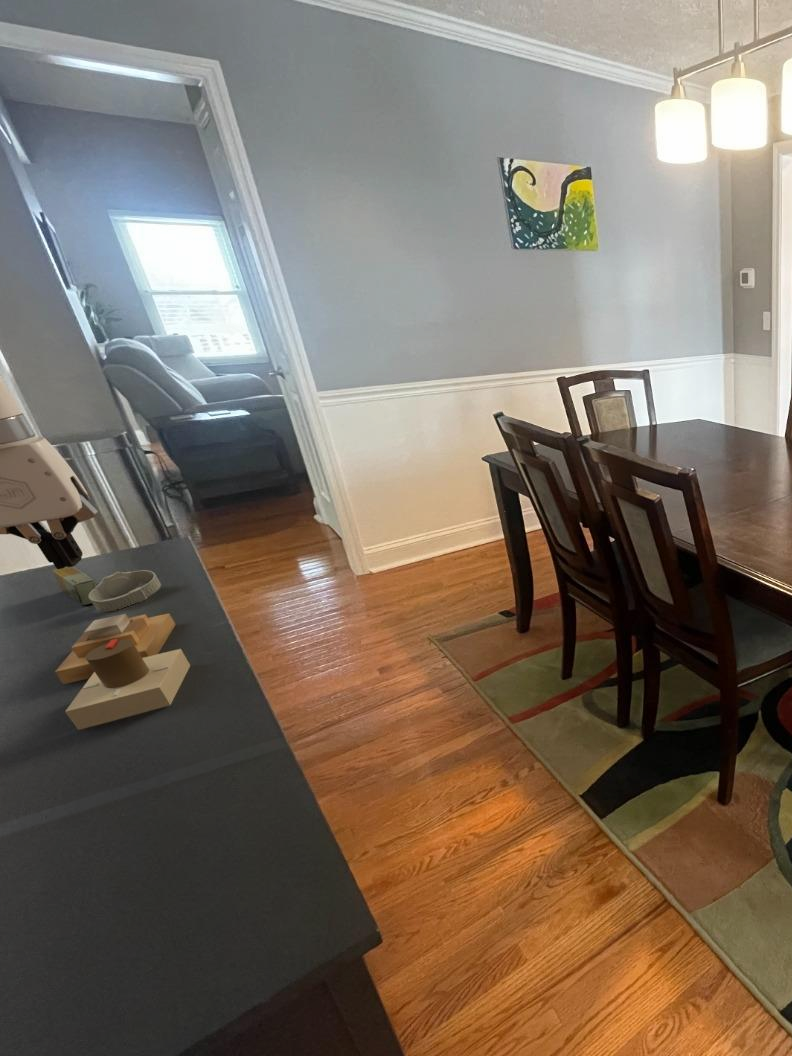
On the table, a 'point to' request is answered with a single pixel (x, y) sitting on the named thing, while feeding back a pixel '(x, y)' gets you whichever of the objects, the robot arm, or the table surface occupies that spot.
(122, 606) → the grey woven basket
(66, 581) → the medication box
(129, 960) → the table surface
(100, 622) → the grey square frustum
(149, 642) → the block
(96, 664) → the volume knob
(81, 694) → the volume panel
